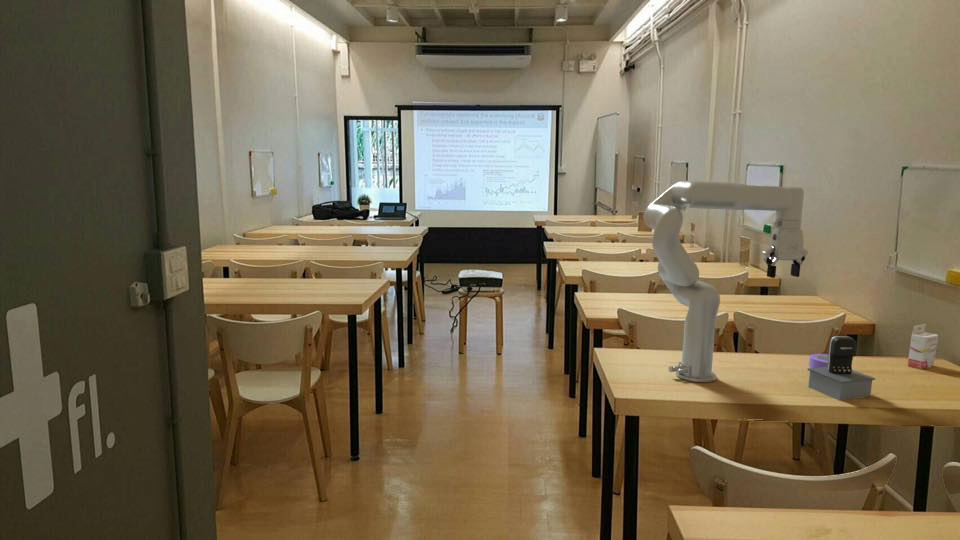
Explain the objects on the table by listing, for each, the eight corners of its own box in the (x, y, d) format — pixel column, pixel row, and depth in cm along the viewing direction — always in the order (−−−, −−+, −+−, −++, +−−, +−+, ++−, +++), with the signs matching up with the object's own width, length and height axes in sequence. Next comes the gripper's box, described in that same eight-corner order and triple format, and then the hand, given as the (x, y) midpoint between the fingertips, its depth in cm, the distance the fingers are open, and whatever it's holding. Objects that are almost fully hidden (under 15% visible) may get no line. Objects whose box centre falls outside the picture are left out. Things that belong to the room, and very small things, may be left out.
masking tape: (802, 363, 229) (803, 353, 229) (834, 363, 230) (835, 353, 229) (820, 374, 218) (821, 363, 217) (853, 374, 218) (855, 363, 218)
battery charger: (832, 374, 198) (836, 338, 196) (826, 370, 202) (829, 335, 200) (855, 375, 198) (859, 339, 196) (848, 371, 201) (852, 336, 199)
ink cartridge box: (922, 370, 224) (927, 329, 221) (906, 366, 228) (912, 325, 225) (934, 366, 228) (940, 326, 225) (919, 362, 232) (924, 323, 230)
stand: (839, 401, 192) (841, 381, 191) (805, 386, 205) (807, 368, 204) (872, 397, 196) (875, 378, 195) (837, 383, 208) (839, 365, 207)
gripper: (774, 226, 203) (769, 279, 205) (818, 225, 208) (812, 277, 211) (757, 224, 210) (753, 275, 213) (800, 223, 215) (795, 273, 218)
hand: (782, 276), depth 212 cm, fingers open, 9 cm apart
